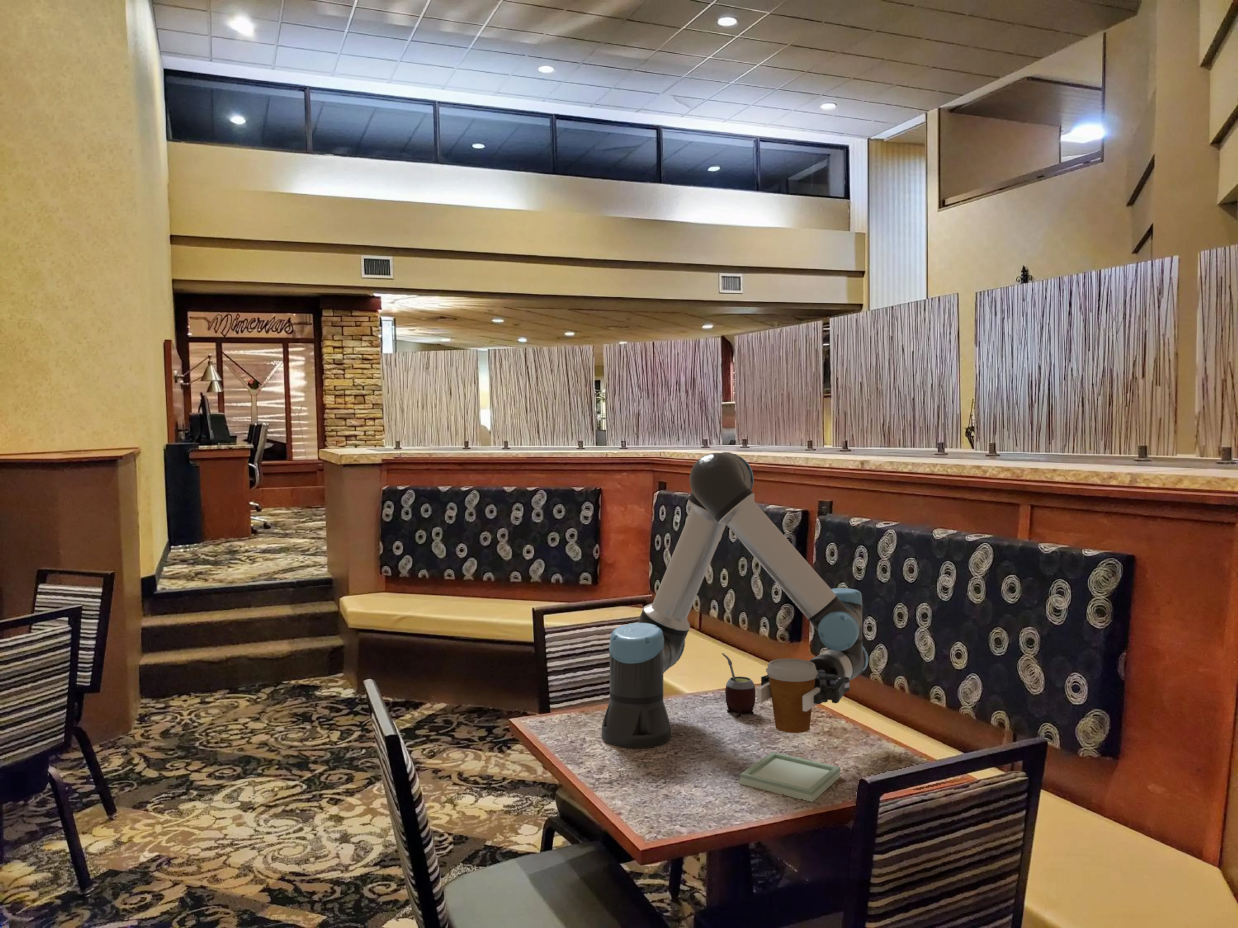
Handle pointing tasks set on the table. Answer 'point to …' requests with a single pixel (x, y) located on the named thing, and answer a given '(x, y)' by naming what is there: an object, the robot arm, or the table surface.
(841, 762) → the table surface
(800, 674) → the disposable coffee cup
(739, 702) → the mate gourd
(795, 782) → the coaster plate
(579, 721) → the table surface
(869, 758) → the table surface
